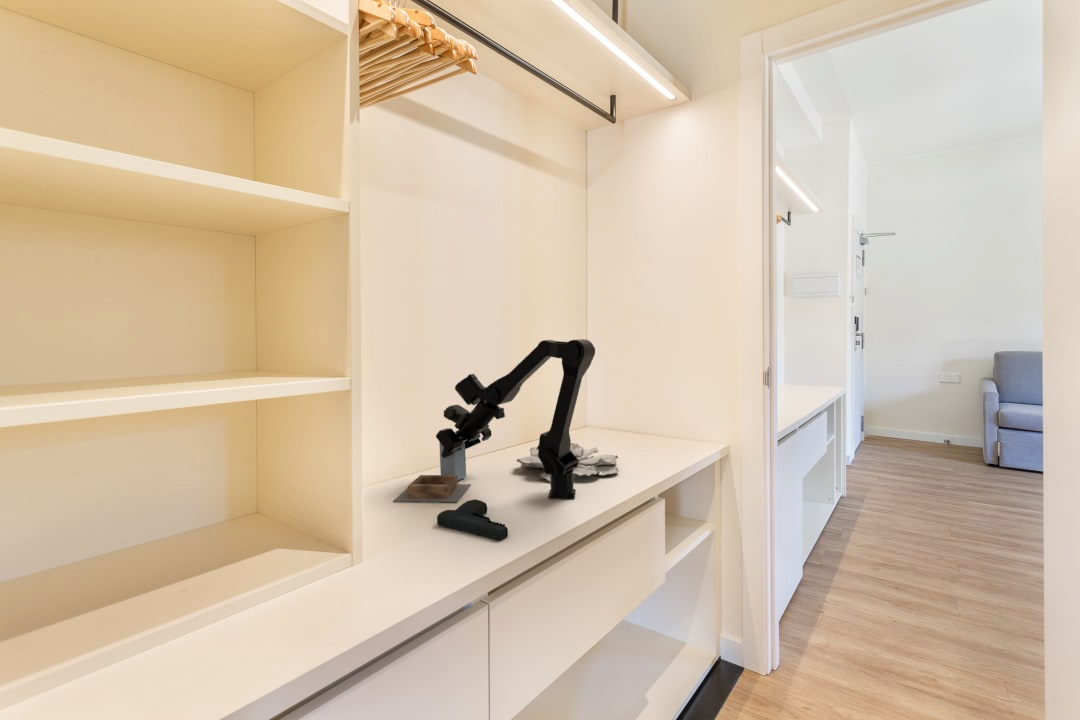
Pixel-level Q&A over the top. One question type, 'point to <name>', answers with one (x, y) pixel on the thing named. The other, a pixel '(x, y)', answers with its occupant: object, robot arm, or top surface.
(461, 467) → the tin
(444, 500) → the mat
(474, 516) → the handgun
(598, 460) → the decorative wall flower
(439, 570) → the top surface
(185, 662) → the top surface
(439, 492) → the brown square open frame
